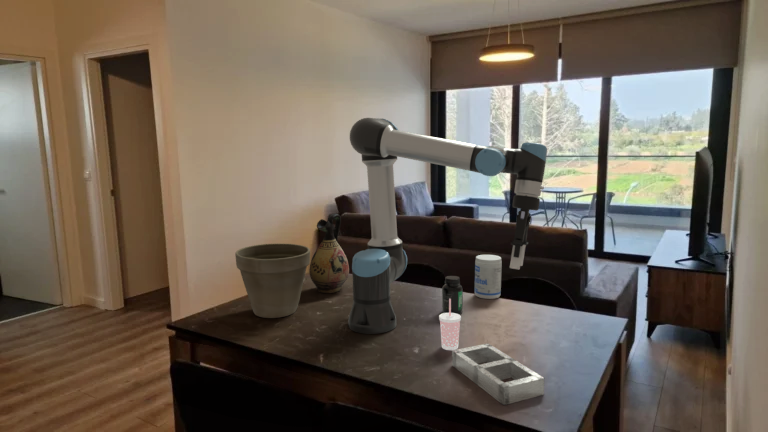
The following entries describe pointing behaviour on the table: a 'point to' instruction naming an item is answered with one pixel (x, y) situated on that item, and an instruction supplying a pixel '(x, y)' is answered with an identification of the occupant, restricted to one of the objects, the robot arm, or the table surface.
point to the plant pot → (273, 277)
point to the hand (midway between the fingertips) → (516, 267)
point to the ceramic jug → (329, 259)
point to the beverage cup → (449, 329)
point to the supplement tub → (488, 276)
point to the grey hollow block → (498, 373)
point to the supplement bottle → (452, 295)
